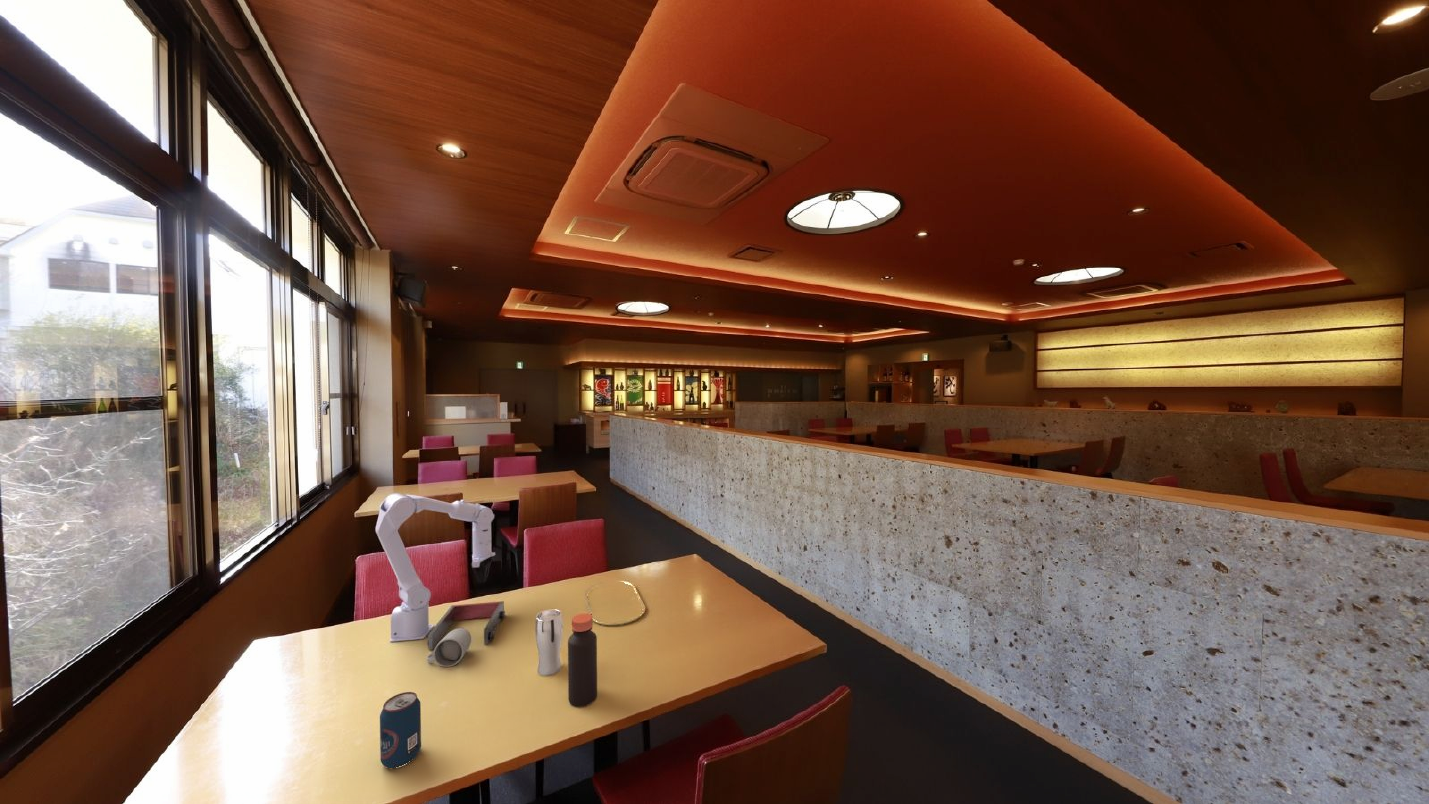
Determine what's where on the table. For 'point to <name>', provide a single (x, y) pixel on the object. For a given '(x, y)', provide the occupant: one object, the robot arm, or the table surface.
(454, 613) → the grey u-frame
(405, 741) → the soda can
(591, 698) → the bottle
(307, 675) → the table surface
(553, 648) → the beer glass
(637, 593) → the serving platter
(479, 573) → the robot arm
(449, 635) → the ceramic mug
